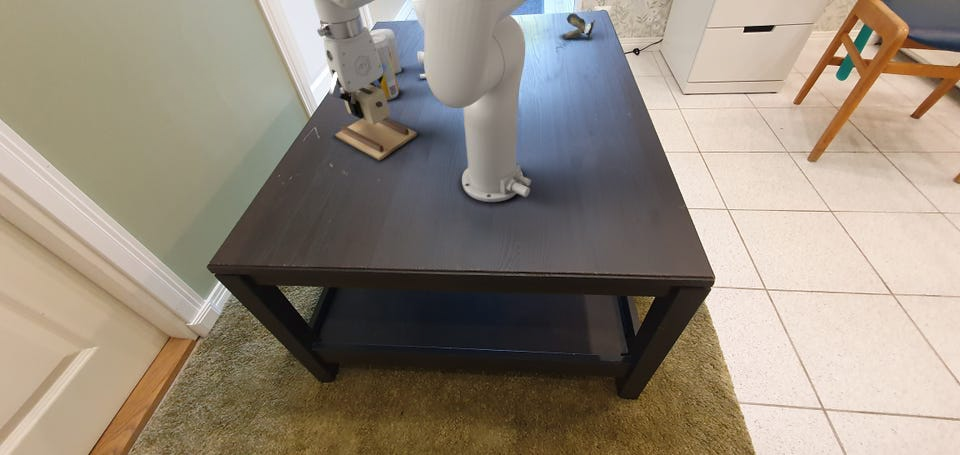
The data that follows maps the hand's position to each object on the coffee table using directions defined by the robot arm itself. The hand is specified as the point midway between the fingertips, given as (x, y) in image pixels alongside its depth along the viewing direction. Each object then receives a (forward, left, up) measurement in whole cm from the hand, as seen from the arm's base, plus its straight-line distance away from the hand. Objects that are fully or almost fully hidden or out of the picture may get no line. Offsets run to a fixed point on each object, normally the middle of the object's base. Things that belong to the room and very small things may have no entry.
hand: (368, 110), depth 85 cm
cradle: (0, 0, -7) cm, 7 cm away
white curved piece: (+22, -23, -7) cm, 33 cm away
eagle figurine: (-13, -76, -7) cm, 77 cm away
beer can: (+12, -15, -7) cm, 20 cm away
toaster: (0, 0, -1) cm, 1 cm away
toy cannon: (+7, -33, -7) cm, 34 cm away
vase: (+22, -48, -7) cm, 53 cm away
